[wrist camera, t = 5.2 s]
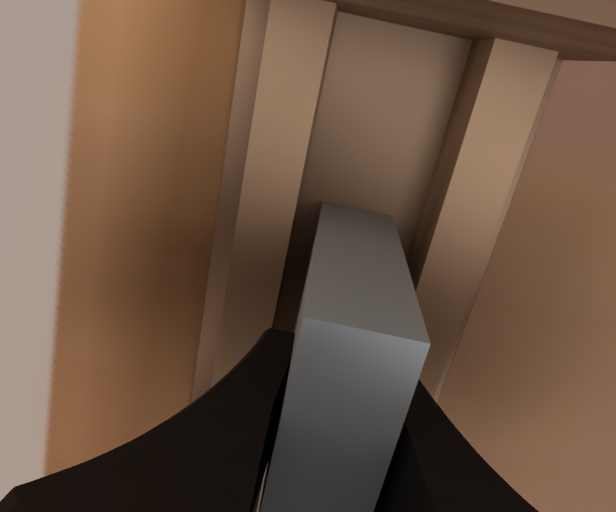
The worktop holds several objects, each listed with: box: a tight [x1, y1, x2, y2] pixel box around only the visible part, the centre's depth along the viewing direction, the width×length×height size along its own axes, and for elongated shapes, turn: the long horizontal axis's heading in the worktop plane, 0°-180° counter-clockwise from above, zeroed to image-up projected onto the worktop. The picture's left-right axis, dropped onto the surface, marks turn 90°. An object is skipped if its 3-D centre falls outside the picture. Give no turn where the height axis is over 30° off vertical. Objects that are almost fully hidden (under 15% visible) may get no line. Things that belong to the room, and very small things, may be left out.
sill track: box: [191, 0, 616, 512], centre depth 11 cm, size 16×7×7 cm, turn 169°
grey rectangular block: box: [256, 201, 431, 512], centre depth 11 cm, size 7×2×6 cm, turn 169°
